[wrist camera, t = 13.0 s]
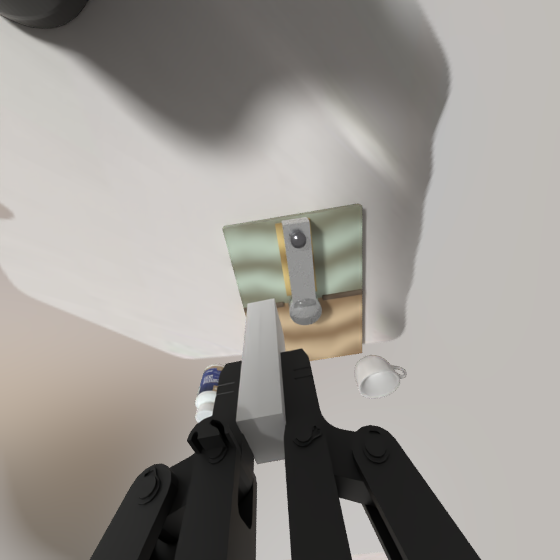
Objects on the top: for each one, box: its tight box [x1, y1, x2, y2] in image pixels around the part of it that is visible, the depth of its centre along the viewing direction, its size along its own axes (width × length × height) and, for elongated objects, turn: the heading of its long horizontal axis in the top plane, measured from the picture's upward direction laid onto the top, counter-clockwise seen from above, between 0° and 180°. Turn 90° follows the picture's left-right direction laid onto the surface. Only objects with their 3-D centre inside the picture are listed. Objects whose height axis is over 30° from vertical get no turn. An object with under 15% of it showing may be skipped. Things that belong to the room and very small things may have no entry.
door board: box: [223, 204, 362, 361], centre depth 41 cm, size 28×20×2 cm
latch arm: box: [282, 217, 322, 325], centre depth 36 cm, size 16×5×4 cm, turn 8°
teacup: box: [354, 355, 406, 399], centre depth 48 cm, size 10×8×5 cm
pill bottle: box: [195, 364, 224, 423], centre depth 45 cm, size 5×5×10 cm
